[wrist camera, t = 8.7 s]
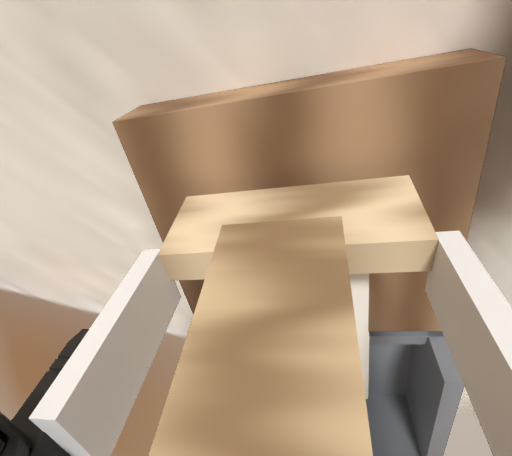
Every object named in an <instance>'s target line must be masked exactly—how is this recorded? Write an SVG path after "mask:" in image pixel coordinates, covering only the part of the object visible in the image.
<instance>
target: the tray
mask: <svg viewBox="0 0 512 456" xmlns="http://www.w3.org/2000/svg"><path fill="white" fill-rule="evenodd" d="M463 389H464V383H463V381H462V378H461V376H460V374H459V371H458V369H457V366H456V364H455V361H454V359H453V357H452V354H451V352H450V349H449V347H448V344H447V342H446V340H445V337H444V335H443V332H442V331H369V384H368V399H366V406H367V414H368V422H369V429H370V437H371V445H372V452H373V456H443V454H444V451H445V448H446V445H447V441H448V438H449V435H450V431H451V428H452V425H453V421H454V418H455V415H456V412H457V408H458V405H459V402H460V399H461V395H462V392H463Z"/></svg>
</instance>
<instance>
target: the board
mask: <svg viewBox="0 0 512 456" xmlns="http://www.w3.org/2000/svg"><path fill="white" fill-rule="evenodd" d="M505 62H506V57H504V56H500V55H496V54H492V53H488V52H484V51H480V50H476V49H472V48H471V49H465V50H460V51H454V52H448V53H442V54H436V55H431V56H425V57H419V58H413V59H408V60H402V61H396V62H390V63H384V64H379V65H373V66H367V67H361V68H356V69H350V70H344V71H338V72H332V73H327V74H321V75H315V76H309V77H304V78H298V79H292V80H286V81H280V82H275V83H269V84H263V85H257V86H252V87H246V88H240V89H234V90H228V91H223V92H217V93H211V94H205V95H200V96H194V97H188V98H182V99H176V100H171V101H165V102H159V103H153V104H148V105H142V106H139V107H137V108H136V109H134V110H132V111H130V112H129V113H127V114H125V115H123V116H122V117H120V118H118V119H117V120H115V121H113V122H112V123H113V125H114V127H115V130H116V132H117V134H118V137H119V139H120V142H121V144H122V146H123V149H124V151H125V153H126V156H127V158H128V161H129V163H130V165H131V168H132V170H133V172H134V175H135V177H136V180H137V182H138V184H139V187H140V189H141V191H142V194H143V196H144V199H145V201H146V203H147V206H148V208H149V210H150V213H151V215H152V218H153V220H154V222H155V225H156V227H157V229H158V232H159V234H160V237H161V239H162V241H163V242H164V240H165V238H166V236H167V234H168V232H169V230H170V228H171V226H172V224H173V222H174V220H175V218H176V216H177V214H178V212H179V210H180V208H181V207H182V205H183V203H184V201H185V199H186V197H188V196H198V195H208V194H219V193H229V192H239V191H250V190H260V189H270V188H281V187H291V186H301V185H312V184H322V183H332V182H343V181H353V180H363V179H374V178H384V177H394V176H405V175H409V176H410V178H411V180H412V183H413V185H414V187H415V189H416V191H417V193H418V196H419V198H420V200H421V202H422V204H423V206H424V209H425V211H426V213H427V215H428V217H429V219H430V222H431V224H432V226H433V228H434V230H435V232H444V231H460V232H461V234H462V235H463V237H464V238H465V240H466V241H467V237H468V232H469V228H470V223H471V219H472V214H473V209H474V205H475V200H476V196H477V191H478V186H479V182H480V177H481V172H482V168H483V163H484V159H485V154H486V149H487V145H488V140H489V136H490V131H491V126H492V122H493V117H494V112H495V108H496V103H497V99H498V94H499V89H500V85H501V80H502V76H503V71H504V66H505ZM427 276H428V271H422V272H394V273H369V315H368V330H369V331H442V330H441V327H440V325H439V323H438V320H437V318H436V315H435V313H434V310H433V308H432V306H431V303H430V301H429V298H428V296H427V293H426V291H425V289H426V282H427ZM204 280H205V279H200V280H179V282H180V284H181V286H182V289H183V291H184V294H185V296H186V298H187V301H188V303H189V305H190V308H191V310H192V313H193V315H194V312H195V309H196V305H197V302H198V299H199V296H200V293H201V290H202V287H203V283H204Z"/></svg>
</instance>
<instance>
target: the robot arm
mask: <svg viewBox="0 0 512 456" xmlns="http://www.w3.org/2000/svg"><path fill="white" fill-rule="evenodd" d="M436 234H437V237H438V239H439V240H438V245H437V249H436V254H435V258H434V262H433V267H432V271H428V276H427V282H426V289H425V291H426V293H427V296H428V298H429V301H430V303H431V306H432V308H433V310H434V313H435V315H436V318H437V320H438V323H439V325H440V327H441V330H442V332H443V335H444V337H445V340H446V342H447V344H448V347H449V349H450V352H451V354H452V357H453V359H454V361H455V364H456V366H457V369H458V371H459V374H460V376H461V378H462V381H463V383H464V386H465V388H466V391H467V393H468V395H469V398H470V400H471V403H472V405H473V408H474V410H475V412H476V415H477V417H478V420H479V422H480V425H481V427H482V429H483V432H484V434H485V436H486V439H487V442H488V444H489V446H490V449H491V451H492V454H493V456H512V308H511V306H510V305H509V303H508V302H507V301H506V299H505V298H504V296H503V295H502V293H501V292H500V290H499V289H498V287H497V286H496V284H495V283H494V281H493V280H492V278H491V277H490V275H489V274H488V272H487V271H486V269H485V268H484V266H483V265H482V264H481V262H480V261H479V259H478V258H477V256H476V255H475V253H474V252H473V250H472V249H471V247H470V246H469V244H468V243H467V241H466V240H465V238H464V237H463V235H462V234H461V232H460V231H444V232H436ZM159 251H160V249H145V250H143V252H142V253H141V254H140V256H139V257H138V259H137V260H136V262H135V263H134V265H133V266H132V268H131V269H130V271H129V272H128V273H127V275H126V276H125V278H124V279H123V281H122V282H121V284H120V285H119V287H118V288H117V290H116V291H115V292H114V294H113V295H112V297H111V298H110V300H109V301H108V303H107V304H106V306H105V307H104V309H103V310H102V312H101V313H100V314H99V316H98V317H97V319H96V320H95V322H94V323H93V325H92V326H91V328H90V329H82V330H81V331H80V332H79V333H78V334H77V335H76V336H74V337H73V338H72V339H71V340H70V341H69V342H68V343H67V345H66V346H65V347H64V349H63V350H62V351H61V353H60V355H59V356H58V359H56V360H55V361H54V363H53V364H52V365H51V367H50V370H49V371H48V372H46V374H45V375H44V377H43V378H42V379H41V381H40V382H39V383H38V385H37V386H36V388H35V389H34V390H33V392H32V393H31V394H30V396H29V397H28V399H27V400H26V401H25V403H24V404H23V406H22V407H21V408H20V410H19V411H18V413H17V414H16V415H15V417H14V418H13V419H12V420H11V421H10V420H9V419H8V418H7V417H6V416H4V415H3V414H2V413H1V412H0V456H111V454H112V452H113V449H114V447H115V445H116V442H117V440H118V438H119V435H120V433H121V431H122V429H123V427H124V424H125V422H126V420H127V418H128V415H129V413H130V411H131V409H132V406H133V404H134V402H135V400H136V397H137V395H138V393H139V390H140V388H141V386H142V384H143V381H144V379H145V377H146V375H147V373H148V370H149V368H150V366H151V363H152V361H153V359H154V356H155V354H156V352H157V350H158V347H159V345H160V343H161V341H162V339H163V336H164V334H165V332H166V330H167V327H168V325H169V323H170V321H171V318H172V316H173V314H174V312H175V309H176V307H177V305H178V302H179V300H180V298H181V295H180V293H179V290H178V288H177V286H176V283H175V281H174V280H172V281H171V280H170V278H169V276H168V274H167V272H166V270H165V268H164V266H163V265H162V263H161V261H160V259H159V257H158V253H159Z"/></svg>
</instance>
